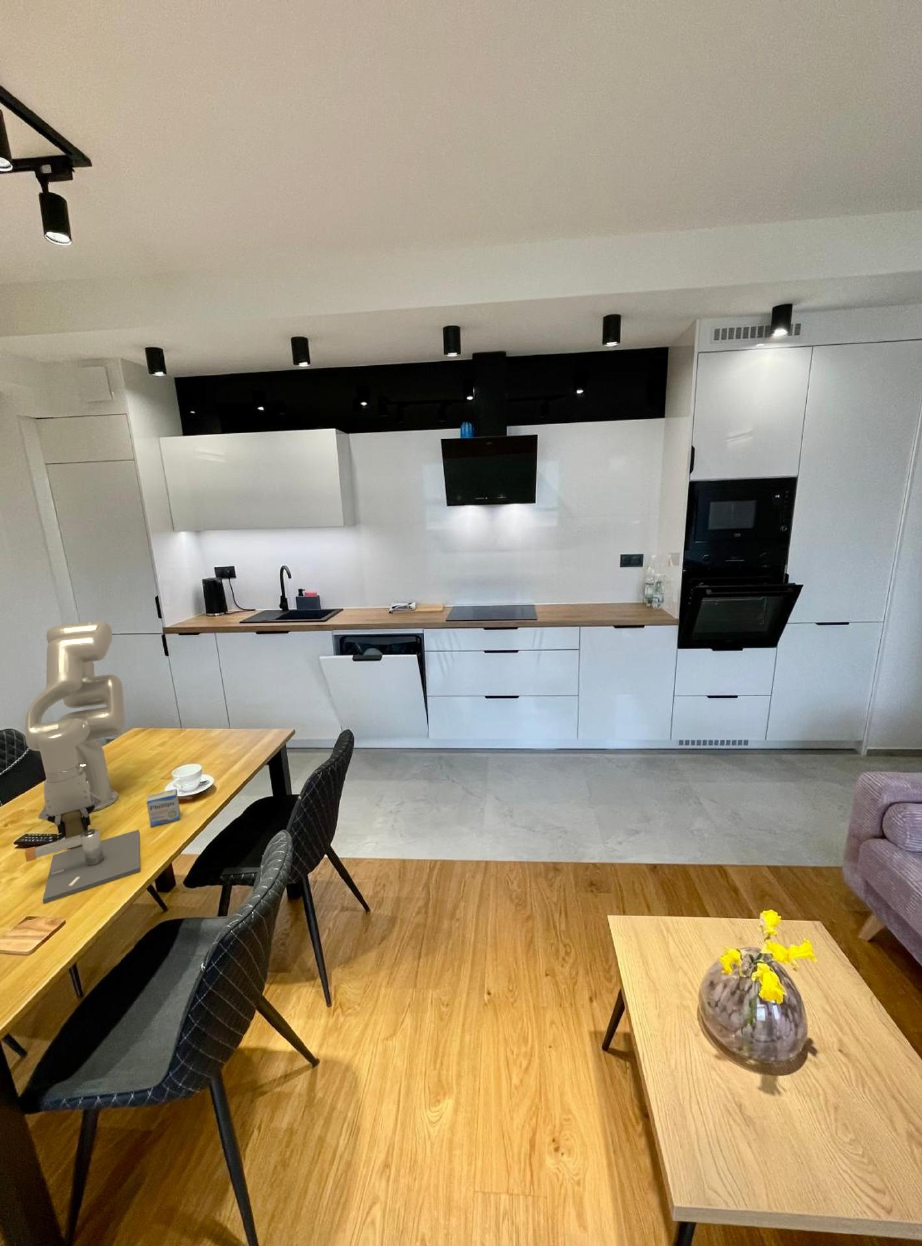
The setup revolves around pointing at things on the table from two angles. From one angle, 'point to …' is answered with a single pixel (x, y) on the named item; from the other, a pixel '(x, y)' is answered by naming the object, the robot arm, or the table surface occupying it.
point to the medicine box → (163, 808)
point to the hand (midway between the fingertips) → (75, 830)
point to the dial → (87, 840)
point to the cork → (73, 824)
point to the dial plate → (92, 867)
